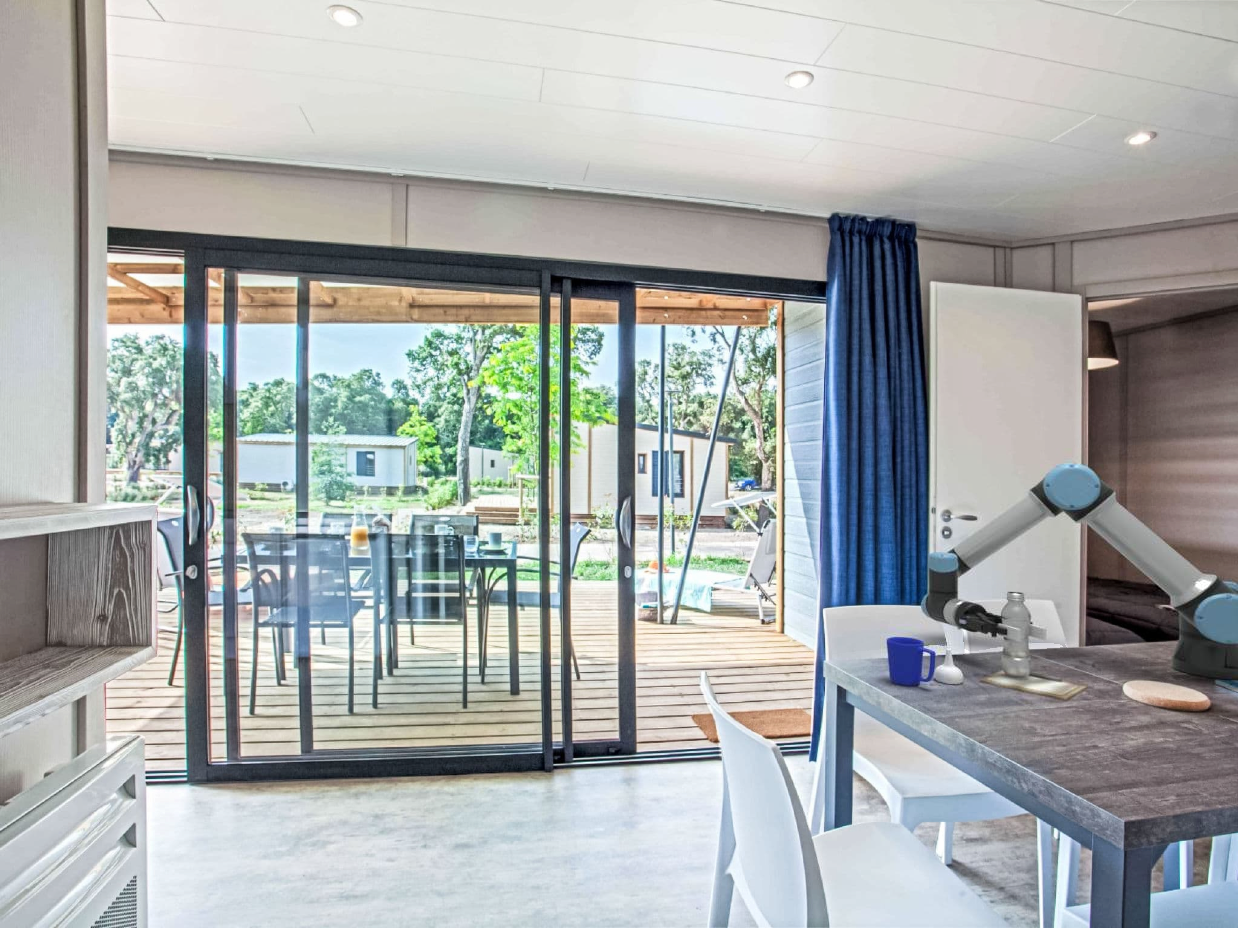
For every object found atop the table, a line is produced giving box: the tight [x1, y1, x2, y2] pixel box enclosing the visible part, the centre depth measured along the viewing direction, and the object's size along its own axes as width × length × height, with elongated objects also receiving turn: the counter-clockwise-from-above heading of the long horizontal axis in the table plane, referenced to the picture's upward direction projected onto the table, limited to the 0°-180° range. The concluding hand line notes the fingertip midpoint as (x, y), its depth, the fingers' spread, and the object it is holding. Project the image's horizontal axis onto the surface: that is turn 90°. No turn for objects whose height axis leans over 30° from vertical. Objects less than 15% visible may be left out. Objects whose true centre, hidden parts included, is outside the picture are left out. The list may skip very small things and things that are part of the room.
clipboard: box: [979, 669, 1088, 701], centre depth 160 cm, size 18×14×1 cm
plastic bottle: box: [1000, 591, 1032, 676], centre depth 164 cm, size 6×7×20 cm
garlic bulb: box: [933, 648, 964, 685], centre depth 163 cm, size 6×6×8 cm
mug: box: [886, 636, 937, 687], centre depth 160 cm, size 8×12×10 cm
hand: (1031, 634), depth 159 cm, fingers closed on plastic bottle, 6 cm apart
